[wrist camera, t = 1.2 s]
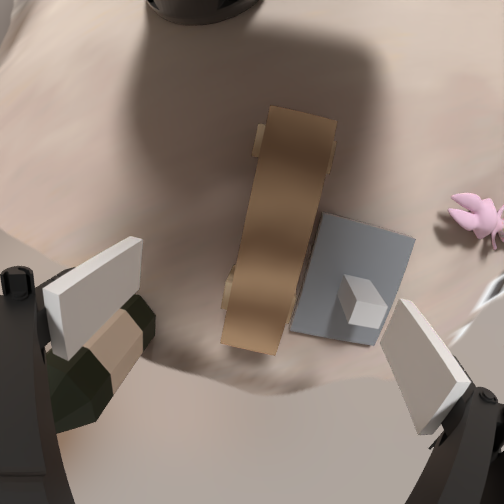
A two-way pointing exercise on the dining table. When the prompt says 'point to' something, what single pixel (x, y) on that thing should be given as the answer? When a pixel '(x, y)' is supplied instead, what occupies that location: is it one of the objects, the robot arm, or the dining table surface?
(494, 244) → the rabbit figure
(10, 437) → the robot arm
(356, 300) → the fulcrum
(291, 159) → the walnut beam
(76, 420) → the wine bottle
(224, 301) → the board
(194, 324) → the dining table surface
